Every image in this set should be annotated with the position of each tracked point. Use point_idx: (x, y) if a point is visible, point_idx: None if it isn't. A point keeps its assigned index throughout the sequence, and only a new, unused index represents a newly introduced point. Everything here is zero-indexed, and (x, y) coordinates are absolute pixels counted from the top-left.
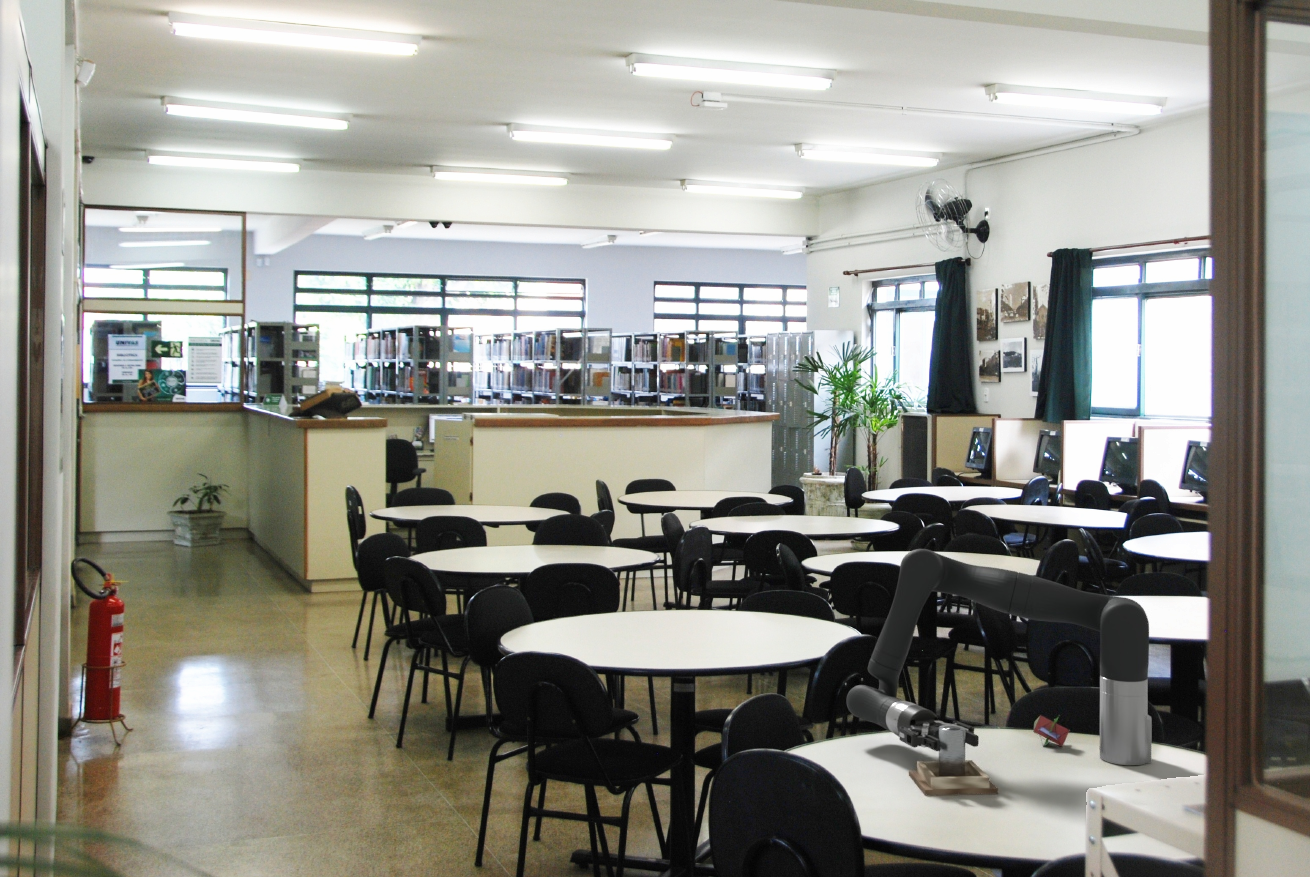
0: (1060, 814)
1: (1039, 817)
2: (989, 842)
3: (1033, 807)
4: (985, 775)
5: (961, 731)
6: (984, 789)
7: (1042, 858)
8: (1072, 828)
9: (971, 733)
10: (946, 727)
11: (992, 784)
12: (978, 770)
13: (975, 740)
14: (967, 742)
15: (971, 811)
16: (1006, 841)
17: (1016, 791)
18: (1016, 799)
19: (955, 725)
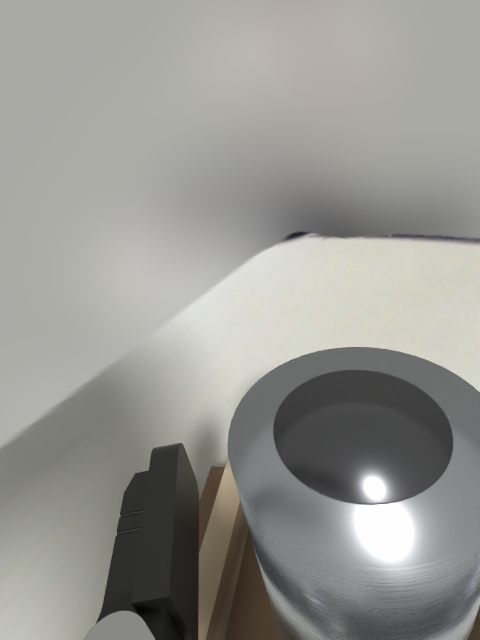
0: (166, 344)
1: (222, 334)
2: (383, 262)
3: (191, 377)
4: (230, 474)
5: (304, 358)
6: None
7: (319, 237)
8: (200, 299)
9: (158, 501)
10: (416, 446)
11: (200, 516)
12: (219, 551)
13: (186, 456)
14: (197, 578)
15: None
16: (350, 265)
17: None
18: (192, 428)
19: (277, 516)
